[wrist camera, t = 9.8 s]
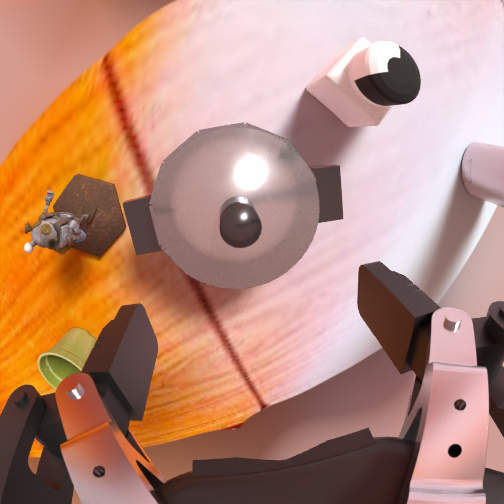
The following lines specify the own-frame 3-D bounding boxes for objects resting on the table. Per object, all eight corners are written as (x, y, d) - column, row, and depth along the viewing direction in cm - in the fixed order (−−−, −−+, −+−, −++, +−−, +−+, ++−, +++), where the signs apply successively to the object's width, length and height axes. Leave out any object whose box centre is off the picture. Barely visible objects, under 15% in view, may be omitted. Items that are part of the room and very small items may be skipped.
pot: (306, 121, 29) (336, 114, 21) (318, 236, 35) (346, 266, 26) (138, 149, 28) (108, 153, 20) (165, 263, 34) (149, 301, 25)
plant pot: (52, 316, 35) (27, 349, 27) (99, 319, 36) (78, 357, 28) (70, 359, 39) (53, 394, 31) (115, 364, 39) (102, 403, 31)
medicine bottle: (378, 91, 28) (439, 78, 17) (348, 128, 30) (406, 126, 19) (337, 52, 26) (387, 20, 15) (303, 89, 28) (346, 63, 16)
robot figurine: (137, 190, 30) (94, 217, 19) (122, 260, 33) (85, 312, 22) (62, 169, 28) (2, 187, 17) (53, 236, 31) (2, 275, 20)
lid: (306, 120, 21) (328, 115, 16) (320, 269, 26) (339, 295, 21) (141, 147, 20) (120, 148, 16) (177, 294, 25) (169, 326, 21)
